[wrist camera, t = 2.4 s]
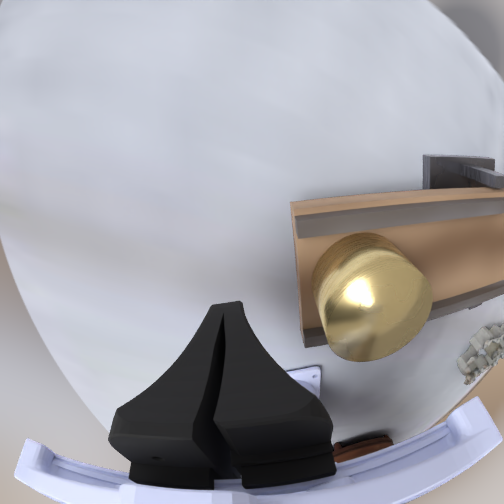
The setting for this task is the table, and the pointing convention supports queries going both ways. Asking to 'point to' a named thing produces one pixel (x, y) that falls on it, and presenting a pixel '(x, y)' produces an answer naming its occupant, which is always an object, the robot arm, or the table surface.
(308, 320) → the beam
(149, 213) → the table surface
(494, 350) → the egg carton
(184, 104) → the table surface
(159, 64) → the table surface
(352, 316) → the brass weight
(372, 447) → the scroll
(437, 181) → the pivot bracket
